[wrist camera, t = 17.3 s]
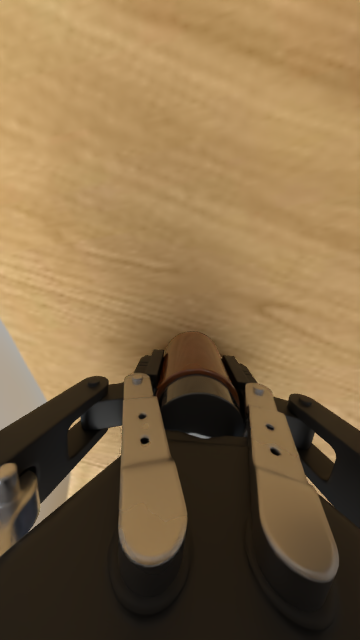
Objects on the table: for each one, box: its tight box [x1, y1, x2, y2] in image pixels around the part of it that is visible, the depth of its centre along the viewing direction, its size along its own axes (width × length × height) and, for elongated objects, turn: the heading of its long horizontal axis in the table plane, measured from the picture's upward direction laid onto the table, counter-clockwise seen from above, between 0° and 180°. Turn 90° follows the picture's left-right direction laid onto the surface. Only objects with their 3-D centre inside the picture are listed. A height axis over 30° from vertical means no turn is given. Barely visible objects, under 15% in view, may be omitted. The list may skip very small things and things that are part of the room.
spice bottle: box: [154, 331, 245, 439], centre depth 11 cm, size 4×4×8 cm
